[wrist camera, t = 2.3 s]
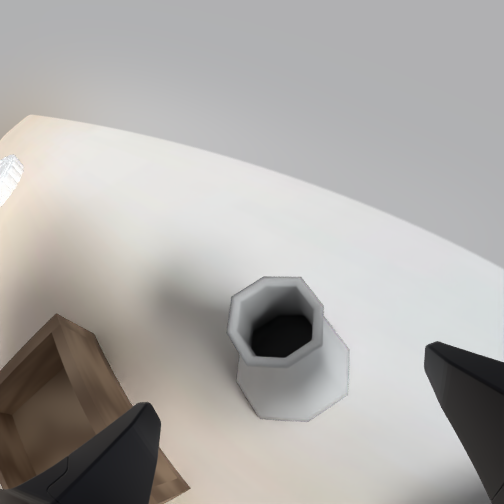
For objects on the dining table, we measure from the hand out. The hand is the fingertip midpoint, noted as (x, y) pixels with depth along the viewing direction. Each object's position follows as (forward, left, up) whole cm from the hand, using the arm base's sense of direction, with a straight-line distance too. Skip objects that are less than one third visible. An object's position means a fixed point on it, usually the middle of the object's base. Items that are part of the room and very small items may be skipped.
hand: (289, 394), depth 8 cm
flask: (+2, +1, -10) cm, 10 cm away
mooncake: (+11, +55, -10) cm, 57 cm away
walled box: (-10, +14, -10) cm, 20 cm away
